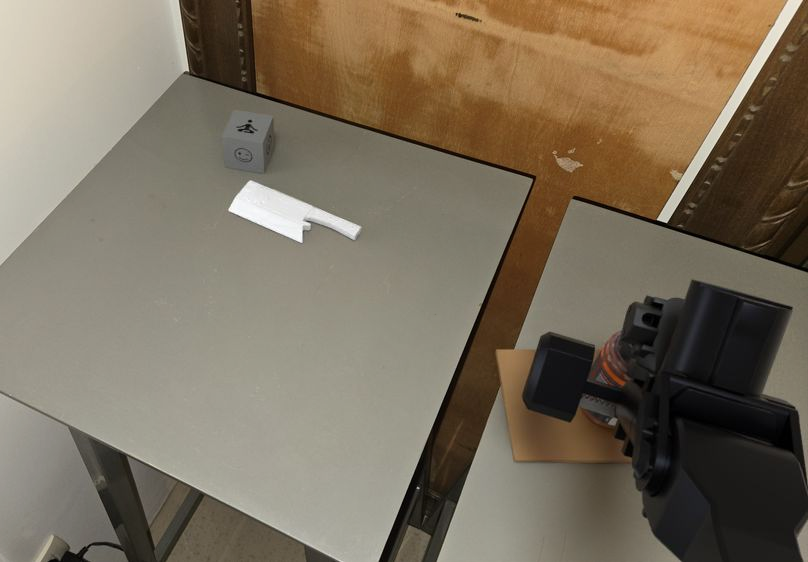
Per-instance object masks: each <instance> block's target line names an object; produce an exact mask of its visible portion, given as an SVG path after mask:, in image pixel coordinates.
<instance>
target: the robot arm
mask: <svg viewBox="0 0 808 562" xmlns="http://www.w3.org/2000/svg"><path fill="white" fill-rule="evenodd" d="M687 288H688V289H687V291H686V294H685V297H684V298H682V297H681V298H680V297H671V298H669V299H664V298H661V297H658V296H651V295H648V294H647V295H646V296H645V297H644V300H643V302H639V301H636V300H635V301H633V302H632V303H630V304H629V305H628V307H627V309H626V312H625V316H624V321H623V324H622V327H621V328H622V329H621V330H622V332H621V341H623V342H626V343H629V344H631V346H632V350H631V354H632V355H636V356H638V357H637V360H635V359H632V358H631V359H630V362H629V365H628V368H627V371H626V375H627V376H628V377H630V378H631V380H629V381H627V382H626V383H625V384H624V386H623V387H622V388H619V387H616V386H612V385H609V384H606V383H602V382H599V381H596V380H593V379H589V378H588V375H589V372H590V369H591V366H592V363H593V359H594V353H595V350H596V345H595V344H593V343H589V342H586V341H583V340H580V339H577V338H573V337H569V336H568V335H564V334H560V333H556V332H553V331H548V332H546V333H544V334H542V335H540V337H539V340H538V343H537V346H536V348H535V350H536V352H535V355H534V358H533V362H532V365H531V368H530V371H529V374H528V377H527V380H526V384H525V387H524V390H523V393H522V399H523V402H524V403H525V405H526V407H527V409H528V410H531V411H534V412H537V413H541V414H544V415H547V416H550V417H553V418H556V419H560V420H563V421H566V422H569V423H571V421H572V420H573V418H574V417H575V415H576V412H577V409H578V407H581V408H584V409H587V410H590V411H594V412H597V413H600V414H603V415H607V416H610V417H613V418H616V419H617V422H616V425H615V428H614V431H613V436H614V438H616V439H619V440H622V441H624V444H623V447H622V450H621V451H622V453H623V455H624V456H627V457H630V458H632V463H631V468H632V469H633V474H632V477H633V479H634V484H635V489H636V490H637V492H639V493H641V501H642V510H641V515H642V517H643V518H644V519H647V523H648V524H649V528H650V531H651V533H652V535H653V536H654V538H655V539H656V540H657V541H659V542H660V544H662V546H664V547H665V548H666V549H667V550H668V551H669V552H670V553H671V554H672V555H673V556H674V557H676V559H677V560H678V561H679V562H805V561H804V558H803V555H802V551H801V549H800V548H801V547H800V544H799V540H798V537H799V536H800V534H801V532H802V531H803V529H804V527H805V526H806V524H807V523H808V476H807V468H806V467H807V466H806V460H805V454H804V452H805V451H804V446H803V445H804V444H803V437H802V430H801V423H800V414H799V410H798V409H797V408H796V406H794V405H793V404H792V403H790V402H789V401H787V400H785V399H782V398H778V397H775V396H772V395H768V394H764V390H765V387H766V384H767V382H768V379H769V377H770V374H771V371H772V369H773V365H774V362H775V360H776V358H777V356H778V352H779V350H780V347H781V344H782V341H783V338H784V336H785V333H786V330H787V329H788V328H787V327H788V326H789V323H790V320H791V317H792V314H793V309H794V306H792V305H788V304H785V303H783V302H778V301H776V300H775V301H774V300H771V299H768V298H764V297H762V296H761V297H760V296H757V295H753V294H750V293H747V292H742V291H739V290H735V289H731V288H728V287H725V286H720V285H716V284H713V283H709V282H705V281H701V280H696V279H691V280H690V283H689V285H688V287H687ZM582 394H587V395H590V396H593V397H596V398H600V399H603V400H606V401H609V403H608V405H606V401H604V402H603V403H602V404H601V400H600V399H599V400H598V401H597V402H596V398H593V399H592V400H591V397H590V396H588V398H587V399H586V396H585V395H583V396H582ZM610 402H613V403H616V404H614V405H613V406H612V404H611V403H610Z"/></svg>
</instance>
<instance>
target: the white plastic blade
mask: <svg viewBox="0 0 808 562" xmlns="http://www.w3.org/2000/svg"><path fill="white" fill-rule="evenodd" d="M227 211H228V212H229V213H231V214H233V215H237V216H239V217H241V218H243V219H246V220H248V221H250V222H253V223H255V224H257V225H259V226H262V227H264V228H266V229H268V230H270V231H273V232H275V233H278V234H280V235H282V236H284V237H286V238H288V239H291V240H294V241H295V242H298V243H300V244H303V232H304V231H307V232H308V231H311V230H312V225H311V223H315V224H317V225H321V226H324V227H326V228H330V229H332V230H333V231H336V232H338V233H340V234H341V235H343V236H345V237H347V238H348V239H351V240H353V241H356V239H357V238H358V237H359V235H360V234H361V233H362V226H361V225H358V224H356V223H354V222H351V221H349V220H346V219H344V218H341V217H340V216H336V215H334V214H332V213H330V212H327V211H325V210H323V209H321V208H319V207H316V206H314V205H311V204H309V203H307V202H305V201H302V200H301V199H298V198H295V197H293V196H291V195H288V194H286V193H283V192H282V191H279V190H277V189H274V188H270V187H268V186H266V185H263V184H261V183H259V182H256V181H253V180H251V179H249V181H248V182H247V183H246V184H245V185H243V187H242V189H240V191H239V192H238V193H237V194H236V196H235V197H234V199H233V201H232V203H231V205H230V206H229V208H228V210H227ZM308 221H309V222H308Z"/></svg>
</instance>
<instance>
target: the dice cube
mask: <svg viewBox="0 0 808 562" xmlns="http://www.w3.org/2000/svg"><path fill="white" fill-rule="evenodd" d="M274 117H275V116H274V115H272V114H271V115H270V114H264V113H257V112H252V111H245V110H241V109H240V110H238V109H233V110H232V113H231V115H230V117H229V120H228V121H227V124H226V126H225V128H224V131H223V133H222V135H221V140H222V141H221V142H222V151H223V159H224V167H225V168H227V169H232V170H239V171H243V172H245V171H246V172H250V173H256V174H262V175H265V174H266V171H267V168H268V166H269V163H270V160H271V158H272V155H273V152H274V150H275V146H276V145H275V120H274V119H275V118H274Z"/></svg>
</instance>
